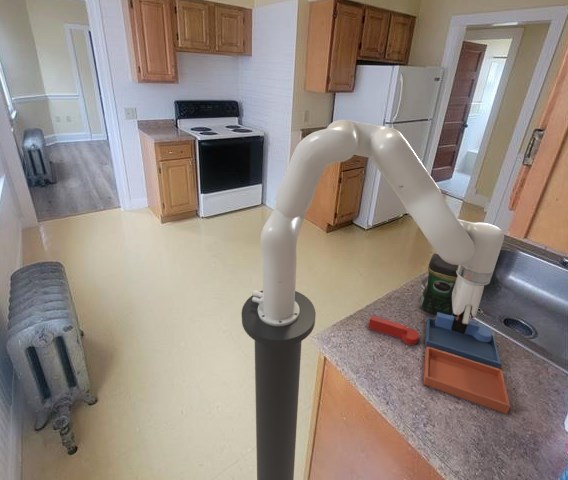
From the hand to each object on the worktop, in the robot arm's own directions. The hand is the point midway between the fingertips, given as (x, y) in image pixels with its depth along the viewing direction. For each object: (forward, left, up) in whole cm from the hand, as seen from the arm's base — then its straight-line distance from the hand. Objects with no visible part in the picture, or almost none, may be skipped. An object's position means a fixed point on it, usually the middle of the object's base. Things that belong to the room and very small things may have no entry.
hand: (457, 327), depth 87 cm
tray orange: (+2, -12, -6) cm, 13 cm away
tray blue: (+2, 0, -6) cm, 6 cm away
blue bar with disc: (+1, 0, -1) cm, 1 cm away
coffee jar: (-4, +13, -6) cm, 15 cm away
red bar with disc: (-16, -4, -6) cm, 17 cm away
